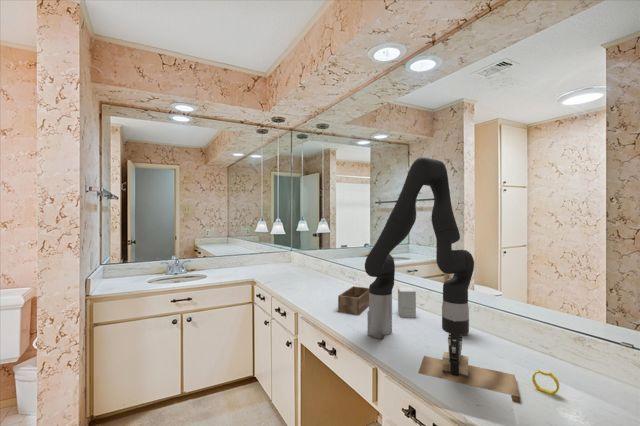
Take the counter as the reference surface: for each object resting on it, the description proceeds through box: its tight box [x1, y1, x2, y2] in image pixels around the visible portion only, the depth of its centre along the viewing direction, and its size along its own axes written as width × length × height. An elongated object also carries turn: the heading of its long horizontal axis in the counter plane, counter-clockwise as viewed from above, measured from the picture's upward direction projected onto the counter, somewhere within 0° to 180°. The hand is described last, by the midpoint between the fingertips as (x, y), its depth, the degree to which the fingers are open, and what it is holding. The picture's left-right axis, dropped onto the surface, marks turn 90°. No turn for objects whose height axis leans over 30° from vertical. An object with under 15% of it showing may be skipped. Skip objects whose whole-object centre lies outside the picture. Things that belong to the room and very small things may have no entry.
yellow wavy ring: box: [531, 367, 560, 395], centre depth 85 cm, size 6×3×6 cm, turn 42°
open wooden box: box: [337, 285, 369, 316], centre depth 158 cm, size 11×21×8 cm, turn 153°
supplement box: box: [397, 286, 417, 319], centre depth 146 cm, size 7×7×13 cm
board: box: [418, 355, 521, 403], centre depth 91 cm, size 26×12×2 cm, turn 63°
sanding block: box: [442, 351, 469, 377], centre depth 92 cm, size 7×4×4 cm, turn 63°
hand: (455, 371), depth 92 cm, fingers closed on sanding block, 4 cm apart
